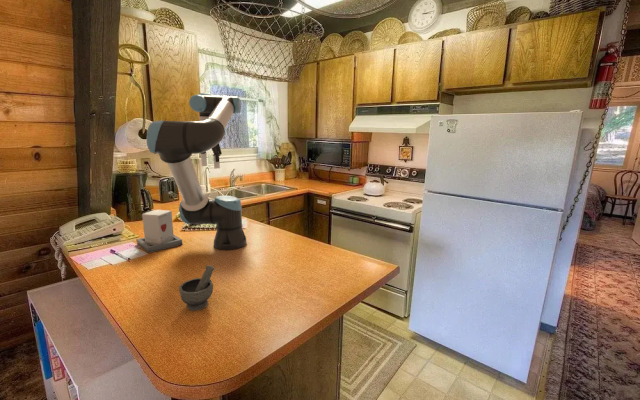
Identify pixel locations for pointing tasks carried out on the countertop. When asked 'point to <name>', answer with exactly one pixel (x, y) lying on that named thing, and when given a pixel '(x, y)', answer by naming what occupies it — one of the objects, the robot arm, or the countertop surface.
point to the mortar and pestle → (197, 290)
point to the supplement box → (158, 227)
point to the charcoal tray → (153, 248)
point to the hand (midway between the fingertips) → (210, 167)
